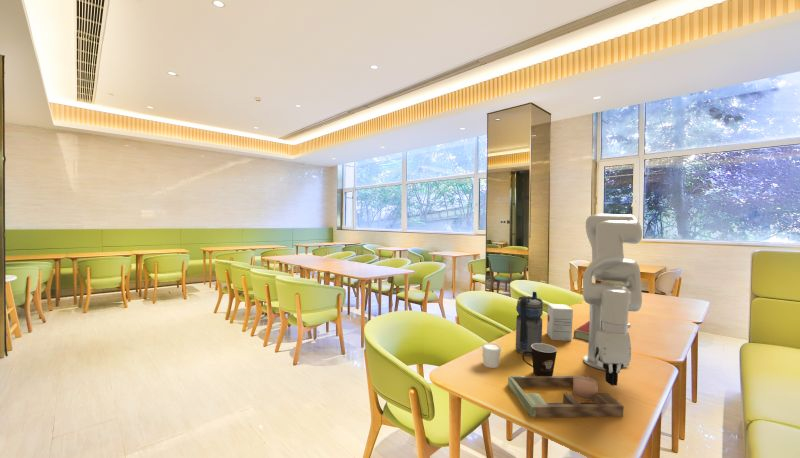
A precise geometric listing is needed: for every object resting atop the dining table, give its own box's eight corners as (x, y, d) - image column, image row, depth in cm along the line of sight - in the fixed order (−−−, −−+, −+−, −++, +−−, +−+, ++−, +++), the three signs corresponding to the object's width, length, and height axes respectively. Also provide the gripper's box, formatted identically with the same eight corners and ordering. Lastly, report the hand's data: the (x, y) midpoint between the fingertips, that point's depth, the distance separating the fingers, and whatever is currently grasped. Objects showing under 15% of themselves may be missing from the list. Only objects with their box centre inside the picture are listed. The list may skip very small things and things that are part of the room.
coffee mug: (554, 371, 127) (555, 345, 126) (557, 382, 119) (558, 354, 118) (521, 366, 131) (522, 340, 130) (521, 376, 123) (522, 349, 122)
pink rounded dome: (589, 388, 115) (589, 375, 115) (602, 400, 108) (602, 386, 108) (568, 388, 115) (569, 375, 114) (580, 400, 108) (580, 386, 107)
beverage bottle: (508, 353, 143) (510, 294, 141) (522, 345, 152) (524, 289, 151) (532, 361, 136) (535, 298, 134) (545, 351, 145) (547, 293, 144)
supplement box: (546, 333, 168) (547, 303, 167) (565, 334, 167) (566, 304, 166) (551, 340, 159) (552, 308, 158) (572, 341, 158) (573, 309, 157)
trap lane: (585, 384, 118) (586, 375, 117) (623, 416, 99) (623, 405, 99) (507, 385, 116) (508, 375, 116) (531, 417, 98) (531, 406, 98)
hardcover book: (573, 337, 164) (573, 329, 163) (588, 328, 178) (588, 320, 178) (601, 345, 155) (602, 335, 155) (614, 334, 170) (614, 325, 170)
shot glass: (500, 369, 128) (501, 351, 128) (482, 367, 129) (482, 349, 129) (499, 361, 135) (500, 344, 134) (481, 359, 136) (482, 342, 136)
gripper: (627, 324, 114) (625, 378, 115) (584, 323, 114) (582, 378, 114) (644, 331, 107) (642, 389, 107) (598, 330, 106) (596, 389, 106)
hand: (611, 383), depth 111 cm, fingers closed
